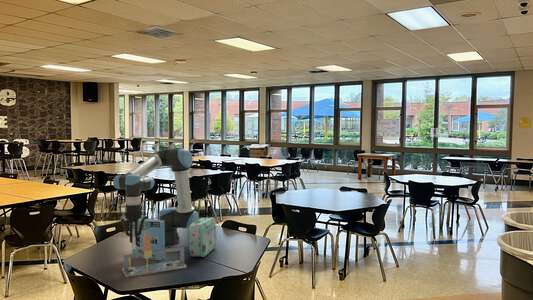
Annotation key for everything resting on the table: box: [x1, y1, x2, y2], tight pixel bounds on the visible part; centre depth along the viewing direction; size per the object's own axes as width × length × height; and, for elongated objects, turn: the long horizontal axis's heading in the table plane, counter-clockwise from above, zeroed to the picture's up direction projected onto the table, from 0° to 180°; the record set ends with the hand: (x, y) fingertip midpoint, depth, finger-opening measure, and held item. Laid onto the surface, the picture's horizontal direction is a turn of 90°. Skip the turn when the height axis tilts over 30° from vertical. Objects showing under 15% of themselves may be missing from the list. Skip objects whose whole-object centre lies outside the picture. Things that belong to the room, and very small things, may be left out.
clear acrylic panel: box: [122, 246, 185, 272], centre depth 218 cm, size 2×32×9 cm, turn 118°
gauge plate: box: [121, 259, 188, 278], centre depth 218 cm, size 11×32×2 cm, turn 118°
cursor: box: [142, 234, 152, 268], centre depth 216 cm, size 4×4×18 cm
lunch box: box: [187, 217, 217, 258], centre depth 248 cm, size 27×10×21 cm, turn 168°
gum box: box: [131, 217, 166, 261], centre depth 237 cm, size 20×5×23 cm, turn 72°
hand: (133, 248), depth 213 cm, fingers closed
